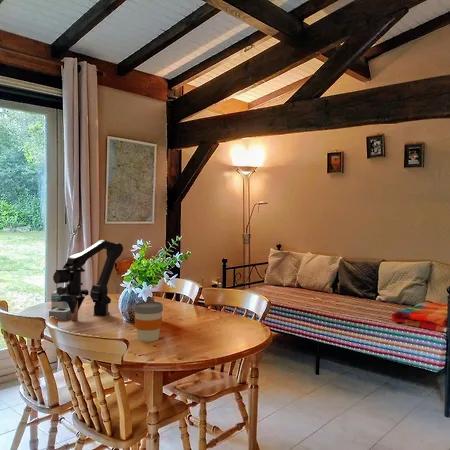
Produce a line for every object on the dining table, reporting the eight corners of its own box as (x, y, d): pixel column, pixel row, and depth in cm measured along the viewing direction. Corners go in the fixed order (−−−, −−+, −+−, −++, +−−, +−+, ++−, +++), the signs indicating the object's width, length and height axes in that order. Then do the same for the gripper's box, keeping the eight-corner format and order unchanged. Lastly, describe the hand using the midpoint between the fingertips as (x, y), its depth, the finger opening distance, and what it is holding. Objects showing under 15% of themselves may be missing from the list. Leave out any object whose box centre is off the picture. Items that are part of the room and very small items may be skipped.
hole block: (74, 315, 227) (74, 308, 227) (65, 320, 218) (65, 312, 218) (58, 314, 228) (58, 307, 228) (48, 319, 219) (48, 311, 219)
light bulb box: (63, 312, 233) (63, 292, 232) (50, 312, 233) (50, 292, 232) (70, 308, 243) (70, 289, 243) (58, 308, 243) (58, 288, 243)
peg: (78, 319, 219) (79, 299, 219) (76, 321, 216) (76, 301, 216) (73, 319, 220) (73, 299, 219) (70, 320, 217) (70, 300, 216)
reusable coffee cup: (128, 337, 191) (129, 303, 191) (154, 332, 199) (154, 300, 198) (141, 344, 181) (142, 308, 181) (167, 339, 189) (168, 305, 188)
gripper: (68, 277, 227) (68, 307, 228) (49, 283, 209) (49, 315, 210) (89, 278, 226) (88, 308, 227) (71, 284, 208) (71, 317, 208)
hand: (74, 312), depth 218 cm, fingers open, 4 cm apart
